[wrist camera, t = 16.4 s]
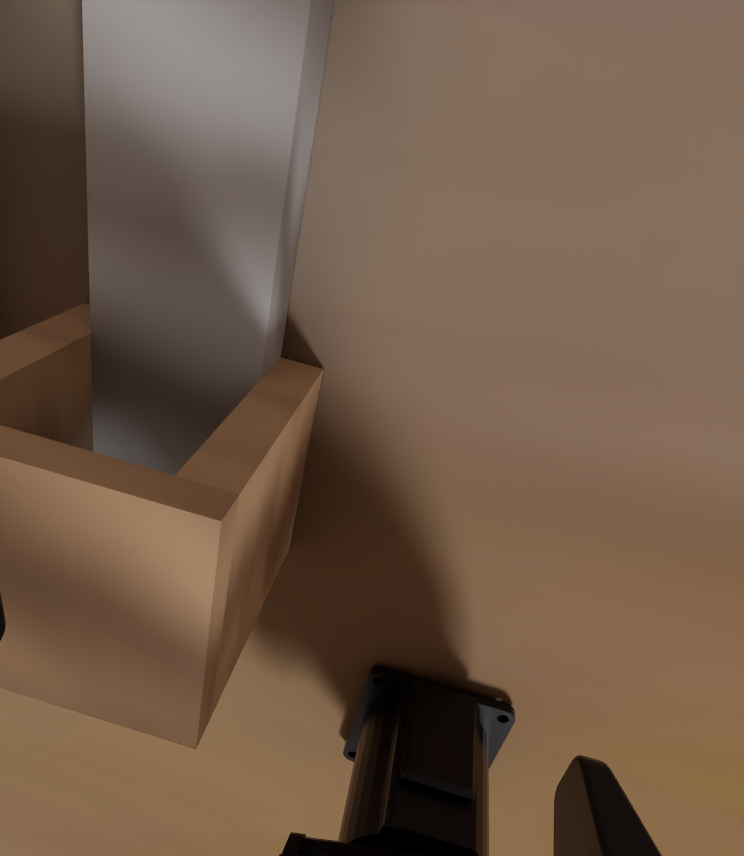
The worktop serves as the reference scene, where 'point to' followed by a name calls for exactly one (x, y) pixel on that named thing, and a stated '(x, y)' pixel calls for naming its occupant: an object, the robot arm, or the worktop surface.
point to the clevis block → (165, 369)
